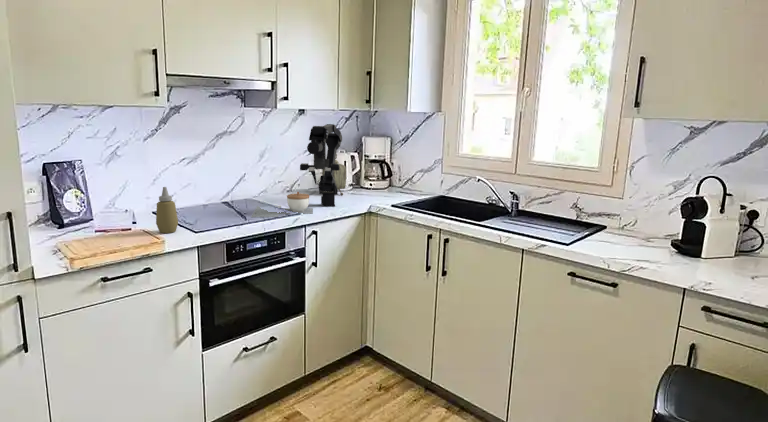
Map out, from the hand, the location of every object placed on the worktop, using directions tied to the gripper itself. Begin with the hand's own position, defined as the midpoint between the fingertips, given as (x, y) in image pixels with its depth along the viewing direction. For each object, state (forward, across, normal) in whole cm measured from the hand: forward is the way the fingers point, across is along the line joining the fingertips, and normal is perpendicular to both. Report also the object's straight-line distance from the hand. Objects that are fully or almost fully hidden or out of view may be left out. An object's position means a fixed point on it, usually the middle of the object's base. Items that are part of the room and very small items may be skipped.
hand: (319, 184), depth 240 cm
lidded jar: (+13, -10, 0) cm, 17 cm away
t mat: (+14, -18, 0) cm, 22 cm away
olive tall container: (+13, +8, +48) cm, 50 cm away
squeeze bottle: (+13, -60, -39) cm, 73 cm away
